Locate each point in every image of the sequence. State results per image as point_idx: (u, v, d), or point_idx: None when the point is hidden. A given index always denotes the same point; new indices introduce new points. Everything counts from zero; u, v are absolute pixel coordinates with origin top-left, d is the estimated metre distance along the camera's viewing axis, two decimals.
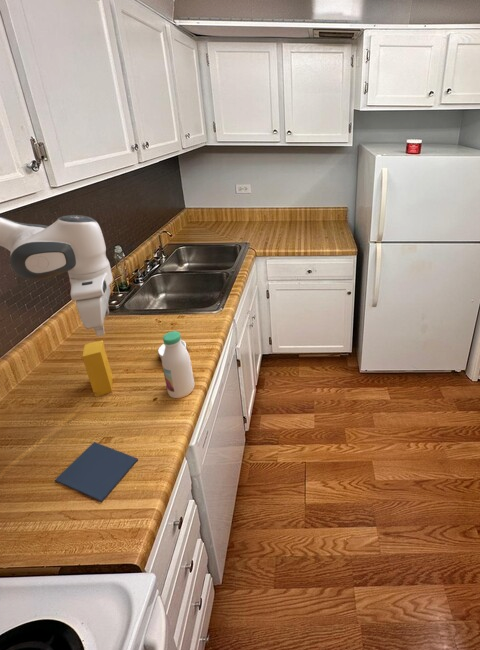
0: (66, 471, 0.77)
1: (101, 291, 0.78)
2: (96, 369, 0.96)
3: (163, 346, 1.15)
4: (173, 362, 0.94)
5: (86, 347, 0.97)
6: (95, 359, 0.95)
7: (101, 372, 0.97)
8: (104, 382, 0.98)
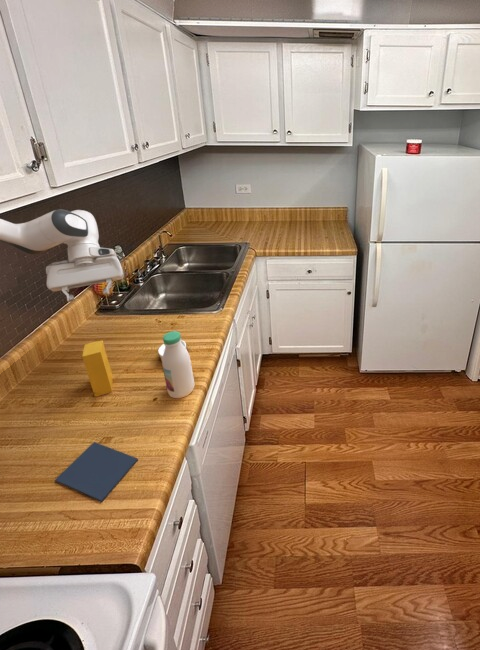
0: (66, 471, 0.77)
1: None
2: (96, 369, 0.96)
3: (163, 346, 1.15)
4: (173, 362, 0.94)
5: (86, 347, 0.97)
6: (95, 359, 0.95)
7: (101, 372, 0.97)
8: (104, 382, 0.98)
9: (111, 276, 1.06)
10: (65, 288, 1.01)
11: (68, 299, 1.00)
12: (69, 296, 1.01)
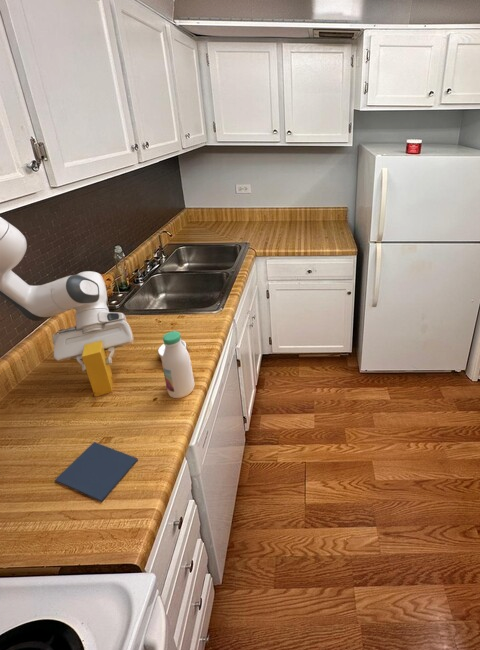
0: (66, 471, 0.77)
1: None
2: (96, 369, 0.96)
3: (163, 346, 1.15)
4: (173, 362, 0.94)
5: (86, 347, 0.97)
6: (95, 359, 0.95)
7: (101, 372, 0.97)
8: (104, 382, 0.98)
9: (121, 343, 1.01)
10: (80, 357, 0.97)
11: (83, 369, 0.96)
12: (84, 365, 0.97)
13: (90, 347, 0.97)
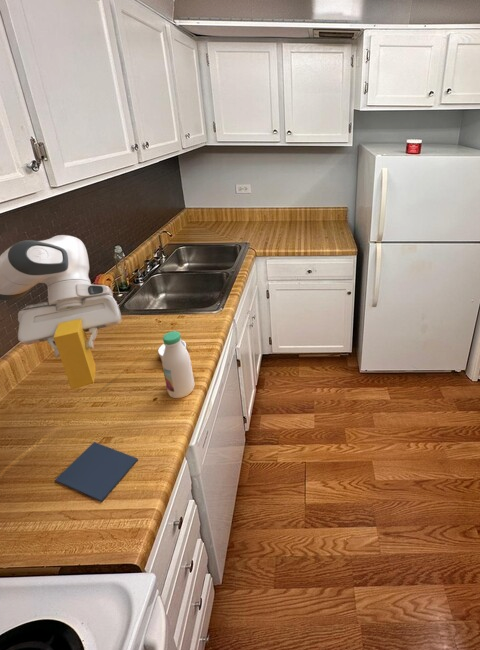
0: (66, 471, 0.77)
1: None
2: (72, 354, 0.76)
3: (163, 346, 1.15)
4: (173, 362, 0.94)
5: (60, 326, 0.77)
6: (71, 341, 0.75)
7: (79, 358, 0.77)
8: (83, 371, 0.78)
9: (105, 322, 0.81)
10: (53, 339, 0.77)
11: (56, 354, 0.76)
12: None
13: (65, 326, 0.76)
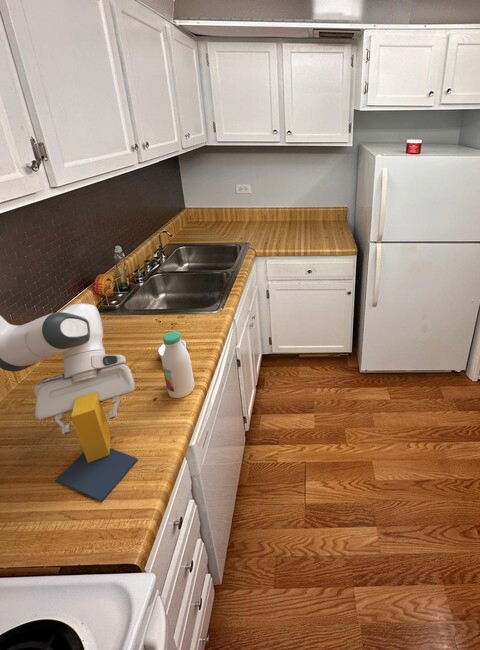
0: (66, 471, 0.77)
1: None
2: (89, 430, 0.77)
3: (163, 346, 1.15)
4: (173, 362, 0.94)
5: (77, 401, 0.78)
6: (88, 419, 0.76)
7: (96, 433, 0.78)
8: (99, 445, 0.79)
9: (119, 393, 0.82)
10: (60, 416, 0.77)
11: (63, 432, 0.76)
12: (65, 427, 0.77)
13: (82, 402, 0.77)
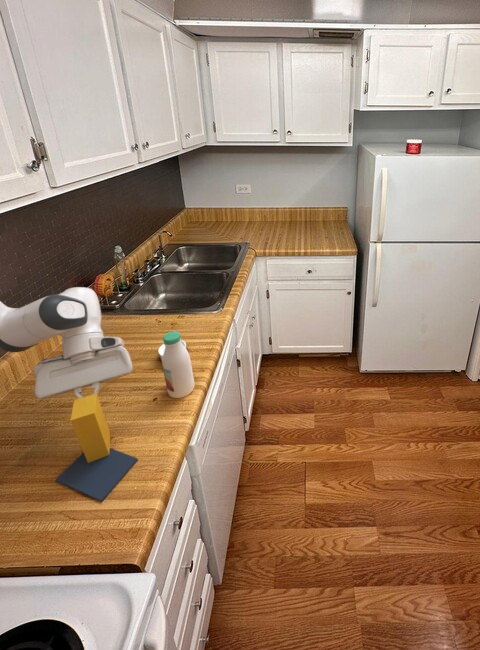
0: (66, 471, 0.77)
1: None
2: (89, 432, 0.76)
3: (163, 346, 1.15)
4: (173, 362, 0.94)
5: (76, 404, 0.77)
6: (88, 422, 0.75)
7: (96, 435, 0.77)
8: (99, 446, 0.79)
9: (117, 374, 0.84)
10: (79, 390, 0.81)
11: None
12: None
13: (81, 405, 0.77)
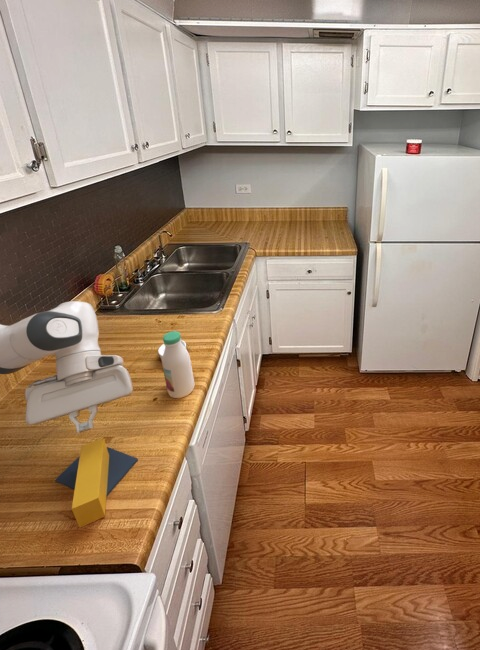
0: (66, 471, 0.77)
1: None
2: None
3: (163, 346, 1.15)
4: (173, 362, 0.94)
5: (77, 512, 0.66)
6: None
7: None
8: None
9: (116, 396, 0.77)
10: (74, 414, 0.74)
11: (78, 431, 0.73)
12: (79, 426, 0.74)
13: (85, 512, 0.66)
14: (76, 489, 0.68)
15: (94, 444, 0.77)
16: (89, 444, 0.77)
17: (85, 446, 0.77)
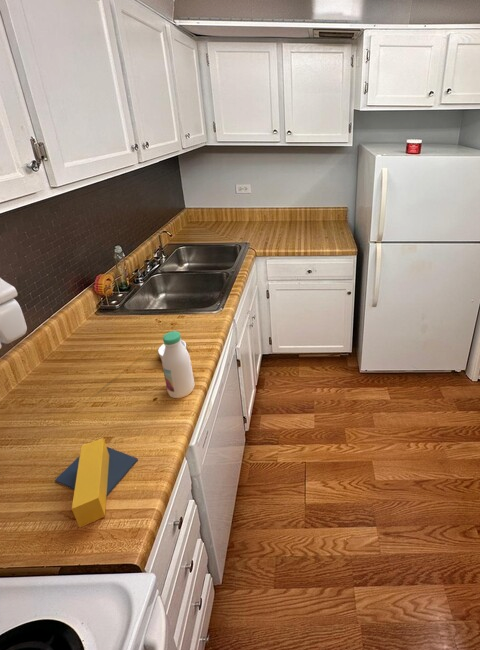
0: (66, 471, 0.77)
1: (15, 290, 0.62)
2: None
3: (163, 346, 1.15)
4: (173, 362, 0.94)
5: (77, 512, 0.66)
6: None
7: None
8: None
9: None
10: None
11: None
12: None
13: (85, 512, 0.66)
14: (76, 489, 0.68)
15: (94, 444, 0.77)
16: (89, 444, 0.77)
17: (85, 446, 0.77)
